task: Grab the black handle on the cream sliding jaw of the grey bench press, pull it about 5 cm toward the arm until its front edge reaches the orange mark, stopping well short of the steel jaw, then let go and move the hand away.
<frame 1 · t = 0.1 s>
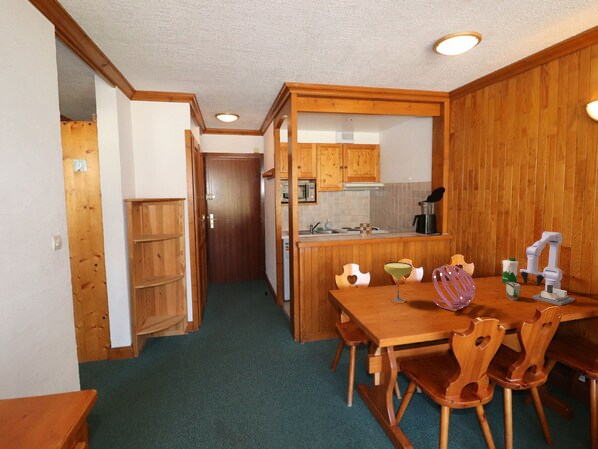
hand: (531, 284, 208), 10 cm above the table, tool pointing down, fingers open, 7 cm apart
cocktail glass: (397, 301, 212), on the table
sliding jaw: (549, 291, 204), point 6 cm above the table, slide at 0.0 cm
spiral basket: (452, 307, 197), on the table
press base: (553, 299, 207), on the table
milk carton: (509, 283, 246), on the table
food container: (514, 298, 211), on the table
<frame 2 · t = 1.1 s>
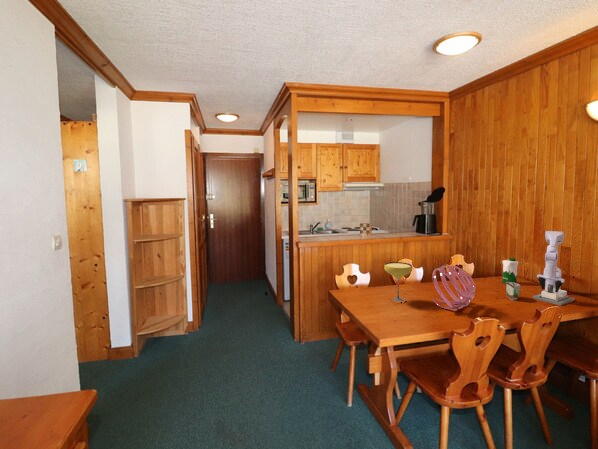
hand: (549, 290, 204), 7 cm above the table, tool pointing down, fingers open, 7 cm apart
sliding jaw: (550, 291, 205), point 6 cm above the table, slide at 0.6 cm
everything else where it was.
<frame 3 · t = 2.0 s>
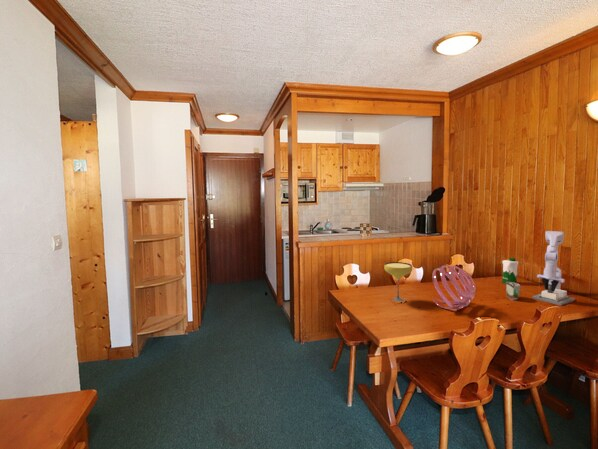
hand: (549, 290, 204), 7 cm above the table, tool pointing down, fingers closed on sliding jaw, 3 cm apart
sliding jaw: (550, 291, 205), point 6 cm above the table, slide at 0.6 cm, touching gripper
everything else where it was.
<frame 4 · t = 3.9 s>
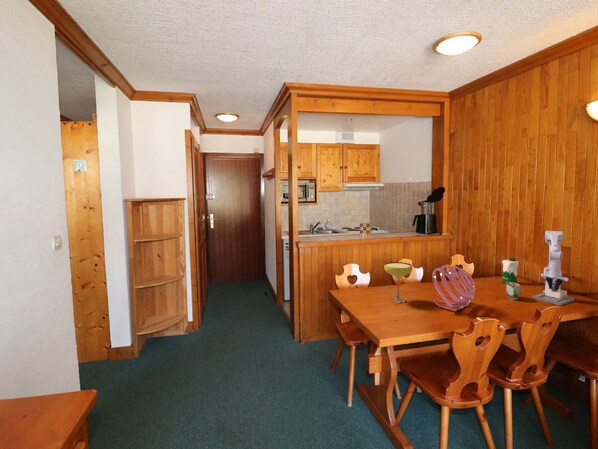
hand: (553, 289, 207), 7 cm above the table, tool pointing down, fingers closed on sliding jaw, 3 cm apart
sliding jaw: (554, 290, 207), point 6 cm above the table, slide at 5.5 cm, touching gripper
everything else where it was.
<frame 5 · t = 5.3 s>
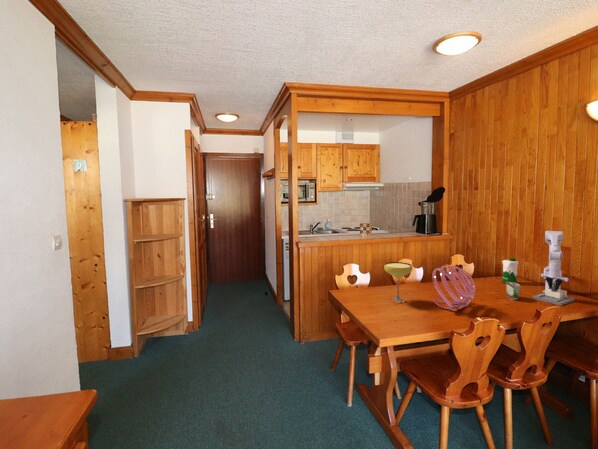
hand: (553, 289, 207), 7 cm above the table, tool pointing down, fingers closed on sliding jaw, 3 cm apart
sliding jaw: (554, 290, 207), point 6 cm above the table, slide at 5.5 cm, touching gripper
everything else where it was.
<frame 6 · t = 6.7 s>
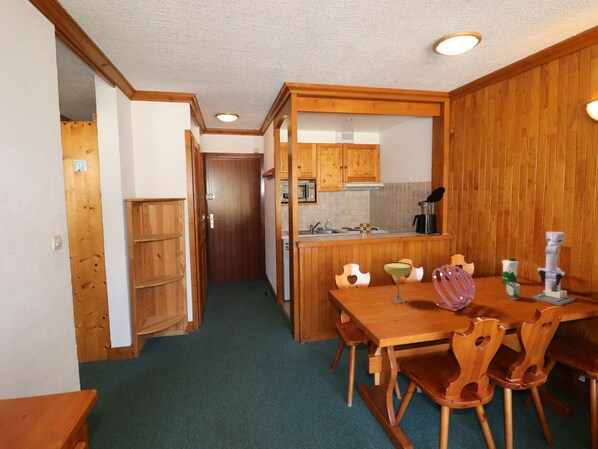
hand: (550, 283, 209), 10 cm above the table, tool pointing down, fingers open, 7 cm apart
sliding jaw: (554, 290, 207), point 6 cm above the table, slide at 5.6 cm, touching gripper
everything else where it was.
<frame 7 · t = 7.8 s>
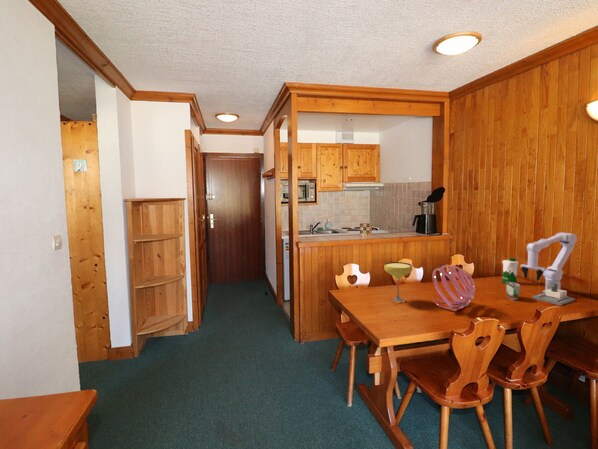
hand: (531, 279, 220), 10 cm above the table, tool pointing down, fingers open, 7 cm apart
sliding jaw: (554, 290, 207), point 6 cm above the table, slide at 5.7 cm
everything else where it was.
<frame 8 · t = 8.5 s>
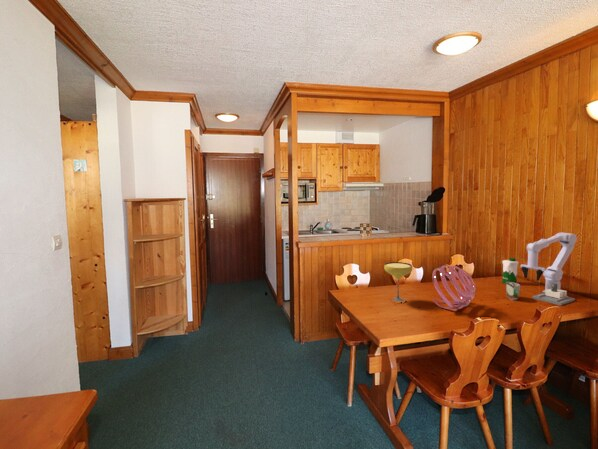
hand: (531, 279, 220), 10 cm above the table, tool pointing down, fingers open, 7 cm apart
nothing on the table moved.
at the end: sliding jaw slide at 5.7 cm; the gripper is holding nothing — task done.
